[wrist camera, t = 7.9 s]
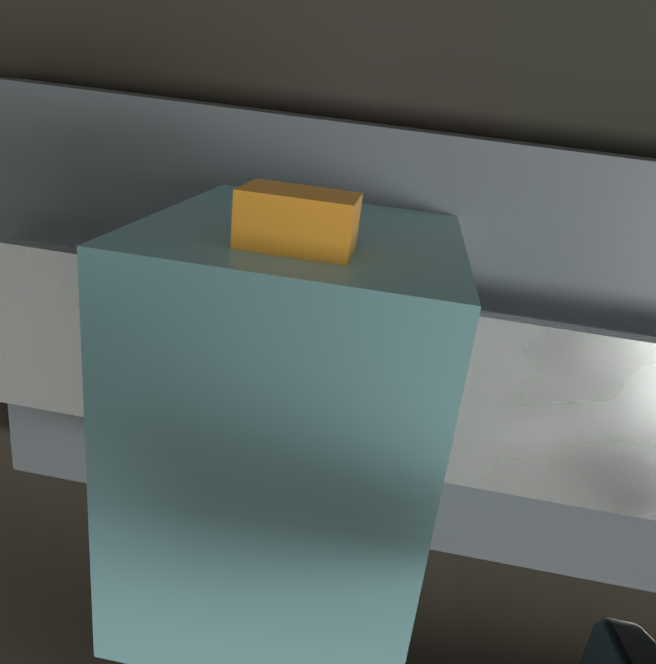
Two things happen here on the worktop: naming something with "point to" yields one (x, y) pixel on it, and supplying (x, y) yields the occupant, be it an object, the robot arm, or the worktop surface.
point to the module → (269, 423)
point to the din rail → (476, 404)
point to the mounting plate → (378, 189)
